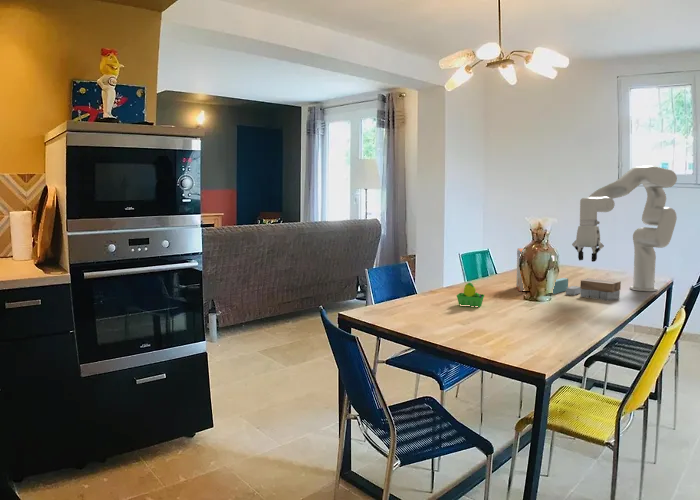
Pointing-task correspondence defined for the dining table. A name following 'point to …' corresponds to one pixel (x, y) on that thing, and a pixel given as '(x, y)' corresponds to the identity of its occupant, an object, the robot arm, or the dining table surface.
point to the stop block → (560, 285)
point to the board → (600, 285)
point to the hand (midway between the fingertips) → (587, 260)
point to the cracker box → (519, 279)
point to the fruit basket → (470, 296)
